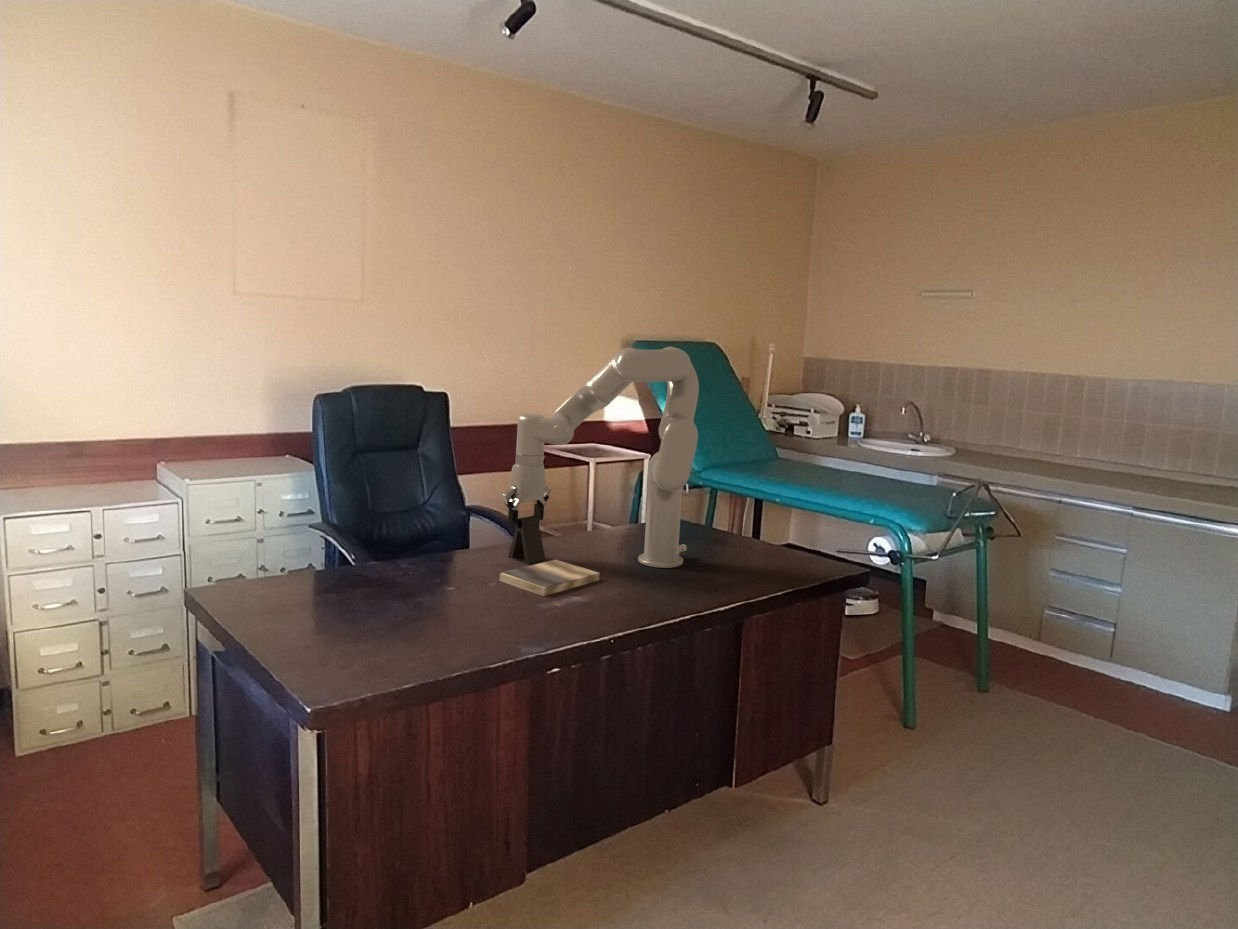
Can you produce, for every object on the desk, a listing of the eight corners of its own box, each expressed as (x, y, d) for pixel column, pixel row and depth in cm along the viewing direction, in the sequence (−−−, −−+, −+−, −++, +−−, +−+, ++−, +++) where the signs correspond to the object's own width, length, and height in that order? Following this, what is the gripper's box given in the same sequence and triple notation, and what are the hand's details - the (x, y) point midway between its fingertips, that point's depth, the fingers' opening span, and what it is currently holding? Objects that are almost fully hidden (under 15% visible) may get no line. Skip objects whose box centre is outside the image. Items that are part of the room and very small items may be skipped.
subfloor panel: (555, 566, 242) (555, 558, 242) (599, 580, 232) (599, 572, 232) (499, 581, 227) (499, 572, 227) (544, 596, 217) (544, 587, 217)
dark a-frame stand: (545, 561, 247) (547, 518, 245) (529, 565, 243) (530, 521, 241) (524, 554, 253) (525, 512, 251) (507, 557, 249) (509, 515, 247)
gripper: (542, 455, 252) (538, 514, 255) (496, 460, 239) (492, 522, 242) (561, 459, 247) (557, 520, 250) (515, 464, 234) (511, 528, 237)
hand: (525, 521), depth 246 cm, fingers open, 9 cm apart
